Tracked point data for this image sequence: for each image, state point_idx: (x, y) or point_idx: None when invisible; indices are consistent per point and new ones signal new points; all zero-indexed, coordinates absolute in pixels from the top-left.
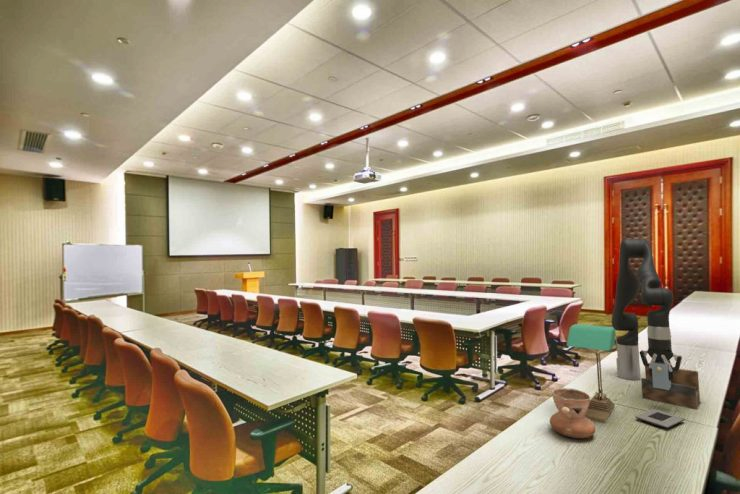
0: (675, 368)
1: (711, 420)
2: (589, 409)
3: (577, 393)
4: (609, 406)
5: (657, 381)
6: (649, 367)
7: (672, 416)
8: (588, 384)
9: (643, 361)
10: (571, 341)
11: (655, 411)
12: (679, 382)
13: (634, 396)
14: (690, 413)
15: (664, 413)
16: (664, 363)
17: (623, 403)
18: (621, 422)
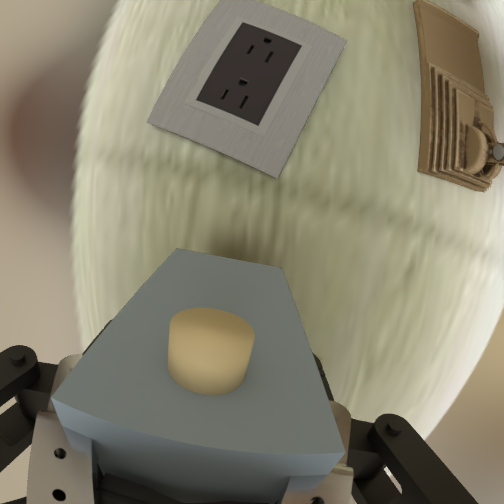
0: (16, 368)
1: (76, 221)
2: (474, 81)
3: None
4: (439, 107)
5: (249, 283)
6: (339, 406)
7: (195, 113)
8: (446, 380)
9: (423, 454)
10: None
11: (266, 141)
12: None
13: (333, 359)
14: (134, 263)
15: (227, 135)
16: (120, 469)
17: (386, 244)
18: (377, 19)
